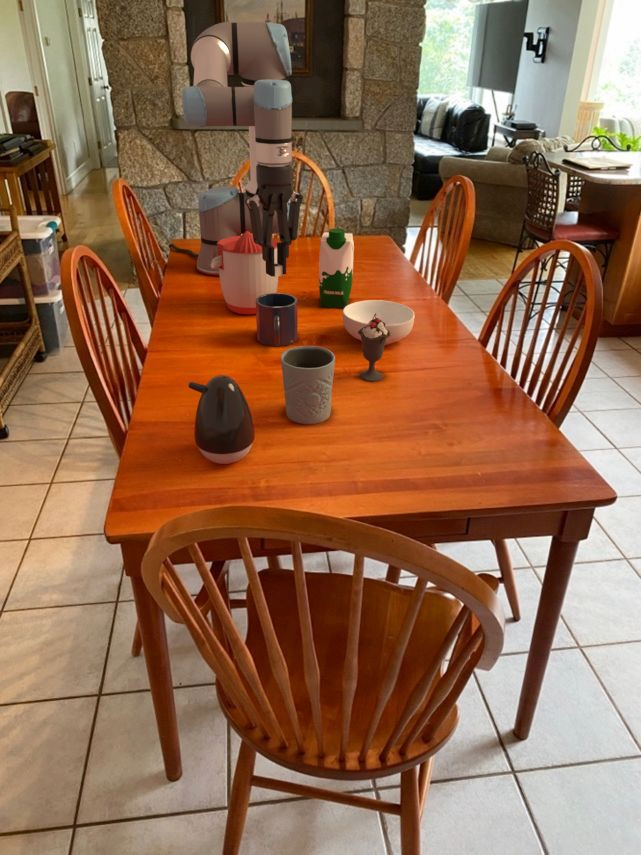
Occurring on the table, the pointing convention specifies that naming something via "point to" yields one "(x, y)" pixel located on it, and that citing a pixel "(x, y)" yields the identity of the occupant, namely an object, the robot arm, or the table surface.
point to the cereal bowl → (389, 312)
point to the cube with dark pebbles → (278, 270)
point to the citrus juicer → (243, 272)
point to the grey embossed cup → (308, 383)
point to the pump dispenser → (223, 421)
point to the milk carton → (335, 268)
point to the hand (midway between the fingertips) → (276, 273)
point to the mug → (276, 319)
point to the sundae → (373, 346)
